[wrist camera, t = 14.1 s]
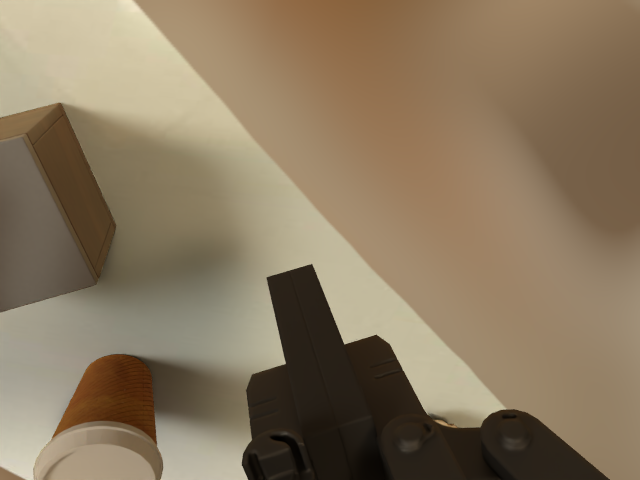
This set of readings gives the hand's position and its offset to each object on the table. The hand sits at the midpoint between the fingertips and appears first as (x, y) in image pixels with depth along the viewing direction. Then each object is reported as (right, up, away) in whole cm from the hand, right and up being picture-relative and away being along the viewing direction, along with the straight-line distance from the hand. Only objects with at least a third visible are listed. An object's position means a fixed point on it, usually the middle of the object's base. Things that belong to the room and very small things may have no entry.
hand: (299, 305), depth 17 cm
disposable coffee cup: (-19, -11, +34) cm, 40 cm away
